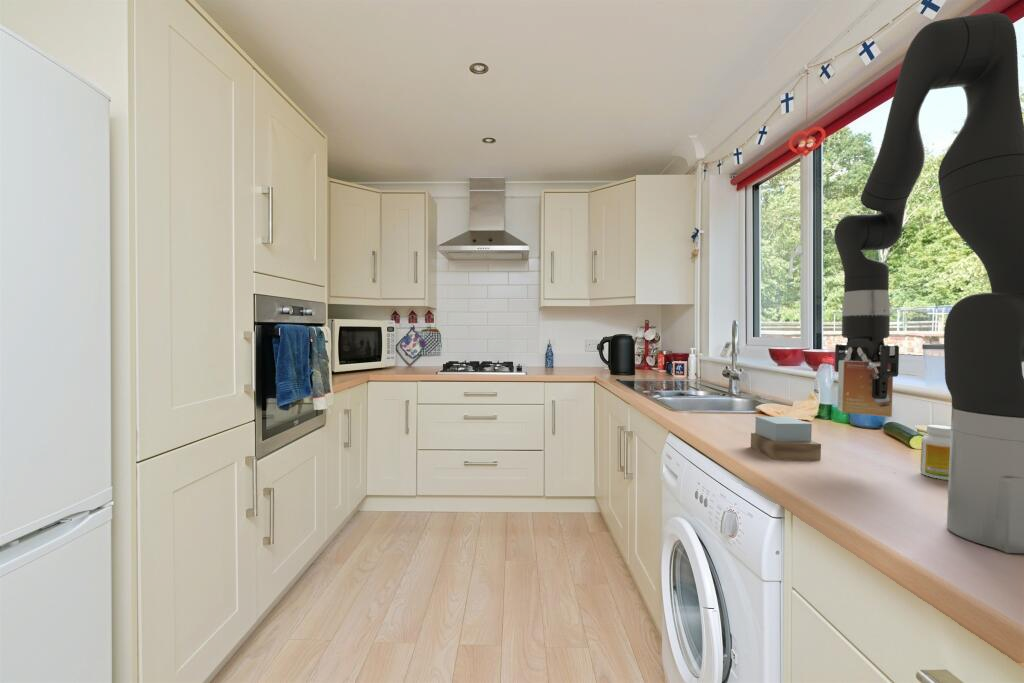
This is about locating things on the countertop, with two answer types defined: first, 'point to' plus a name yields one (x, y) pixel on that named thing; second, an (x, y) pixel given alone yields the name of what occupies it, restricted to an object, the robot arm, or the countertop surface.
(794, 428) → the slate top block
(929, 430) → the supplement bottle
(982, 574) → the countertop surface
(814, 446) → the walnut base block
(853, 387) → the small box
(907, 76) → the robot arm
